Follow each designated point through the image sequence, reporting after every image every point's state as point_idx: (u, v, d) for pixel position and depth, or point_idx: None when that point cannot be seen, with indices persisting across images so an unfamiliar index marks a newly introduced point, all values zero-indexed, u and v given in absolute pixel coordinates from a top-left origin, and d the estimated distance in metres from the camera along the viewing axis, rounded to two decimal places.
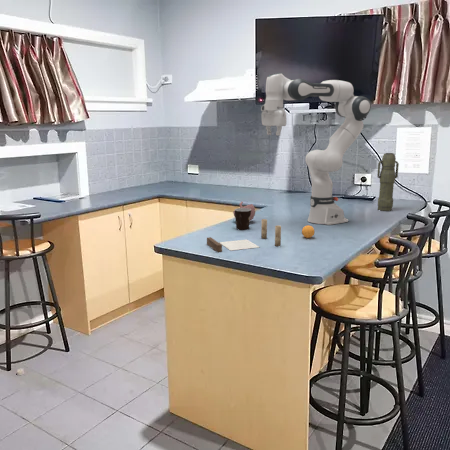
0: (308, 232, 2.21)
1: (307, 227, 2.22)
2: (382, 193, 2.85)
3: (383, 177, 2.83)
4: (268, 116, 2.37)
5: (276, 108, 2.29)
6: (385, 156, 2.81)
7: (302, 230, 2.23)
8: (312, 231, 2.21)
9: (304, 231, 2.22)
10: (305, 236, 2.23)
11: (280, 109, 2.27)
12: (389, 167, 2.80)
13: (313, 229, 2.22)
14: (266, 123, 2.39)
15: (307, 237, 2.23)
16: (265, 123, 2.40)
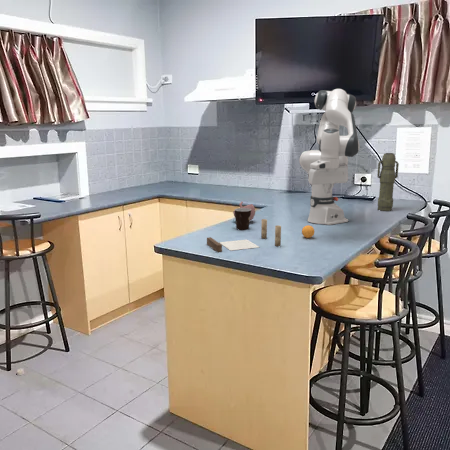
0: (308, 232, 2.21)
1: (307, 227, 2.22)
2: (382, 193, 2.85)
3: (383, 177, 2.83)
4: (325, 174, 2.19)
5: None
6: (385, 156, 2.81)
7: (302, 230, 2.23)
8: (312, 231, 2.21)
9: (304, 231, 2.22)
10: (305, 236, 2.23)
11: (342, 166, 2.23)
12: (389, 167, 2.80)
13: (313, 229, 2.22)
14: (322, 182, 2.19)
15: (307, 237, 2.23)
16: (320, 182, 2.18)
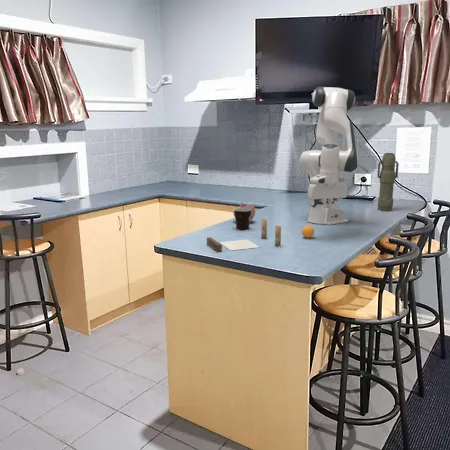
0: (308, 232, 2.21)
1: (307, 227, 2.22)
2: (382, 193, 2.85)
3: (383, 177, 2.83)
4: (324, 189, 2.20)
5: None
6: (385, 156, 2.81)
7: (302, 230, 2.23)
8: (312, 231, 2.21)
9: (304, 231, 2.22)
10: (305, 236, 2.23)
11: (342, 181, 2.24)
12: (389, 167, 2.80)
13: (313, 229, 2.22)
14: (321, 196, 2.20)
15: (307, 237, 2.23)
16: (319, 196, 2.19)
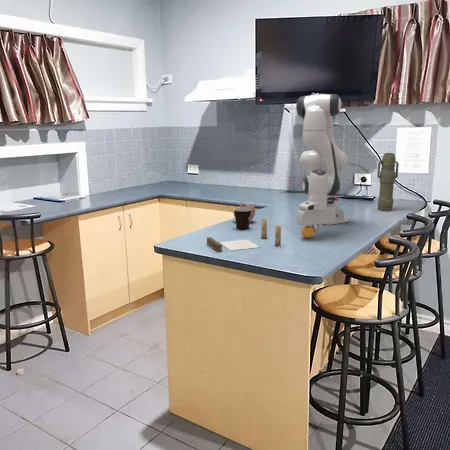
0: (308, 232, 2.21)
1: (307, 227, 2.22)
2: (382, 193, 2.85)
3: (383, 177, 2.83)
4: (313, 215, 2.20)
5: None
6: (385, 156, 2.81)
7: (302, 230, 2.23)
8: (312, 231, 2.21)
9: (303, 231, 2.22)
10: (305, 236, 2.22)
11: (330, 206, 2.24)
12: (389, 167, 2.80)
13: (313, 229, 2.22)
14: (310, 222, 2.20)
15: (307, 237, 2.23)
16: (308, 223, 2.19)
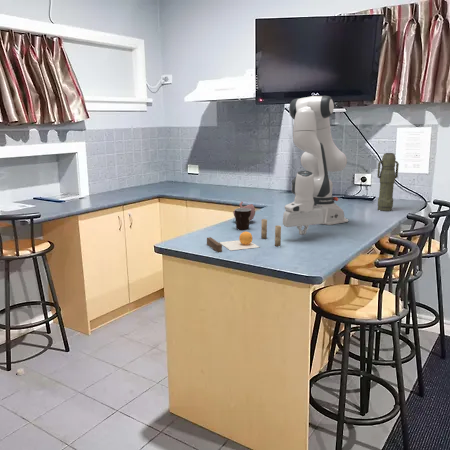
0: (250, 236, 2.10)
1: None
2: (382, 193, 2.85)
3: (383, 177, 2.83)
4: (299, 216, 2.18)
5: None
6: (385, 156, 2.81)
7: None
8: (249, 241, 2.10)
9: (250, 233, 2.11)
10: (244, 233, 2.10)
11: (317, 207, 2.22)
12: (389, 167, 2.80)
13: (249, 243, 2.10)
14: (296, 224, 2.18)
15: (243, 234, 2.09)
16: (294, 224, 2.18)
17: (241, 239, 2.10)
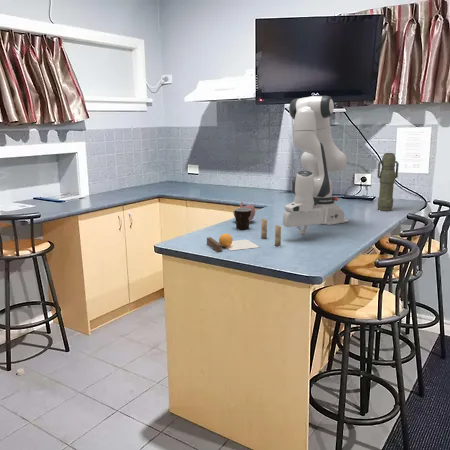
0: (226, 244, 2.06)
1: (221, 243, 2.06)
2: (382, 193, 2.85)
3: (383, 177, 2.83)
4: (299, 216, 2.18)
5: None
6: (385, 156, 2.81)
7: None
8: (227, 240, 2.05)
9: (223, 246, 2.07)
10: (229, 245, 2.08)
11: (317, 207, 2.22)
12: (389, 167, 2.80)
13: (225, 237, 2.05)
14: (296, 224, 2.18)
15: (231, 243, 2.08)
16: (294, 224, 2.18)
17: None
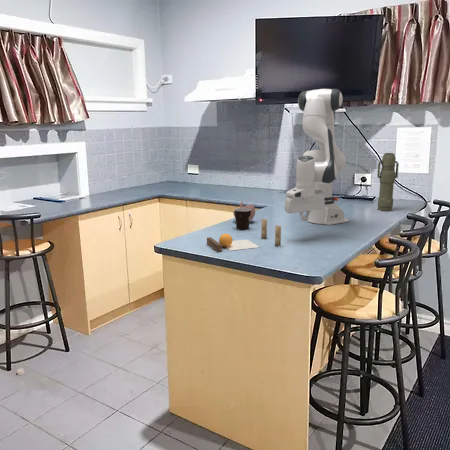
0: (226, 244, 2.06)
1: (221, 243, 2.06)
2: (382, 193, 2.85)
3: (383, 177, 2.83)
4: (301, 202, 2.17)
5: None
6: (385, 156, 2.81)
7: None
8: (227, 240, 2.05)
9: (223, 246, 2.07)
10: (229, 245, 2.08)
11: (319, 192, 2.21)
12: (389, 167, 2.80)
13: (225, 237, 2.05)
14: (298, 210, 2.17)
15: (231, 243, 2.08)
16: (296, 210, 2.17)
17: None
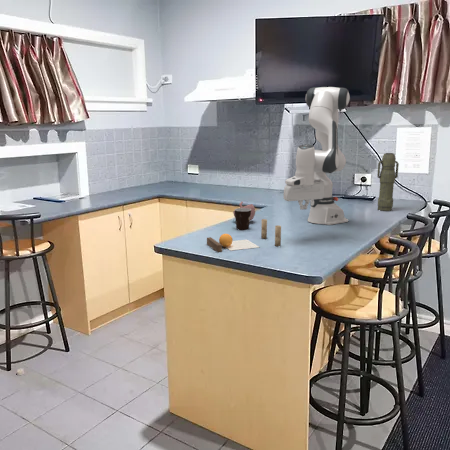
0: (226, 244, 2.06)
1: (221, 243, 2.06)
2: (382, 193, 2.85)
3: (383, 177, 2.83)
4: (300, 190, 2.16)
5: None
6: (385, 156, 2.81)
7: None
8: (227, 240, 2.05)
9: (223, 246, 2.07)
10: (229, 245, 2.08)
11: (318, 182, 2.19)
12: (389, 167, 2.80)
13: (225, 237, 2.05)
14: (297, 198, 2.15)
15: (231, 243, 2.08)
16: (295, 198, 2.15)
17: None
